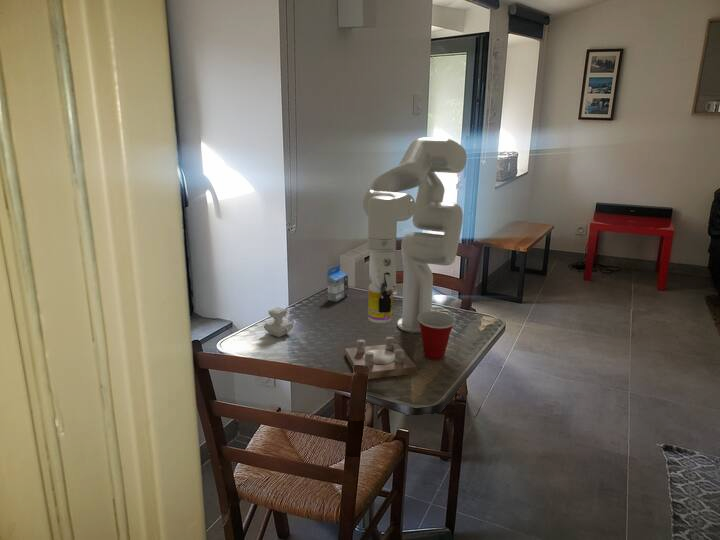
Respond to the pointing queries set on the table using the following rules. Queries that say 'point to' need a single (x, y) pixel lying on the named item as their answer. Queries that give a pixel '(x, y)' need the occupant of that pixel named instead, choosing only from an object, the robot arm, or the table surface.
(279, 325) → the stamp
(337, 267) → the label tape box
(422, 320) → the plastic cup
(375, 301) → the supplement bottle
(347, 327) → the table surface
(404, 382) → the table surface
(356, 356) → the stub board
